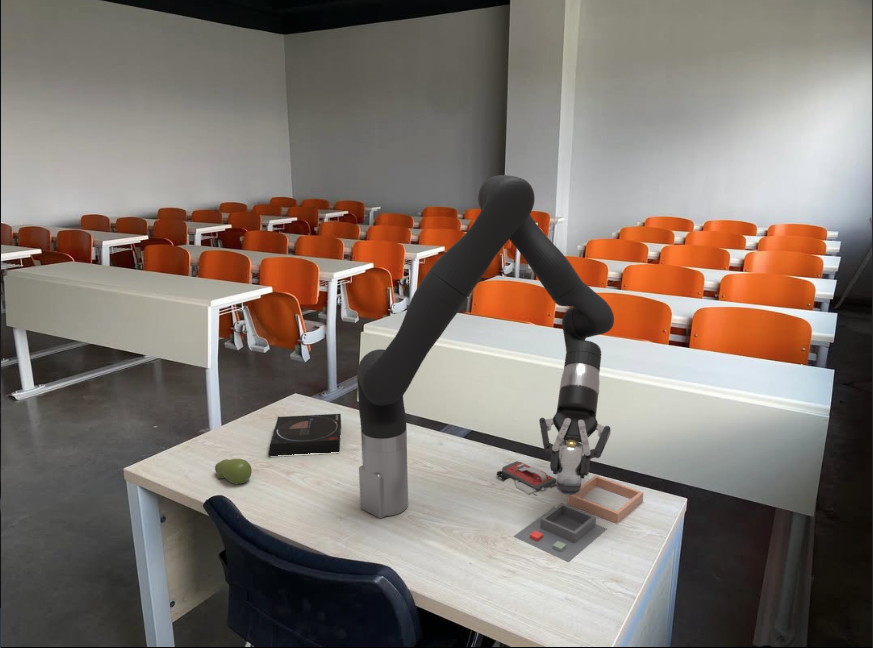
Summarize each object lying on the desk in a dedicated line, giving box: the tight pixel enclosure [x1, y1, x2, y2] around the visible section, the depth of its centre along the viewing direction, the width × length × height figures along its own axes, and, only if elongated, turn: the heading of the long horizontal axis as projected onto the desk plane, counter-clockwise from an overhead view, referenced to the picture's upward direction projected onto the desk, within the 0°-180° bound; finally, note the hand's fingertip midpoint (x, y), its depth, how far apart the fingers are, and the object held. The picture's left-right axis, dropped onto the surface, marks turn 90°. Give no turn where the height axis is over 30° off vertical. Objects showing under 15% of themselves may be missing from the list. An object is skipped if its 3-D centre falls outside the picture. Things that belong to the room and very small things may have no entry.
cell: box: [556, 440, 584, 496], centre depth 124 cm, size 4×4×10 cm
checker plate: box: [512, 503, 608, 563], centre depth 126 cm, size 14×12×4 cm
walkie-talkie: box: [496, 460, 557, 497], centre depth 144 cm, size 9×4×20 cm
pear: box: [214, 458, 253, 485], centre depth 150 cm, size 6×5×10 cm
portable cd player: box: [267, 413, 342, 457], centre depth 169 cm, size 16×17×4 cm
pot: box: [567, 474, 644, 524], centre depth 136 cm, size 11×11×4 cm
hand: (568, 474), depth 123 cm, fingers closed on cell, 4 cm apart
